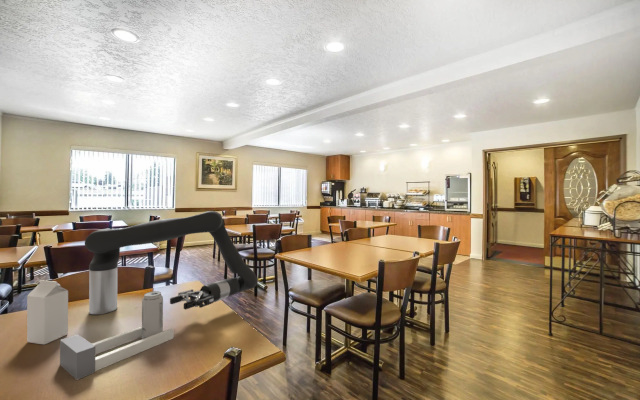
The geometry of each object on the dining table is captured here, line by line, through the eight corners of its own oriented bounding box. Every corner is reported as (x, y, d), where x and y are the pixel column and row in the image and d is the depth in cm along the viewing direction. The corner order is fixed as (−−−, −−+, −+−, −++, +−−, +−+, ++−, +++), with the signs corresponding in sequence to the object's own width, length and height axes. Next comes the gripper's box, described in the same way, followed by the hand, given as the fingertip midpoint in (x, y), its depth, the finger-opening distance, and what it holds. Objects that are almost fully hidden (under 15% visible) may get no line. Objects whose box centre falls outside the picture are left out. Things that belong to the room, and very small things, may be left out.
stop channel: (60, 364, 80) (60, 339, 80) (155, 329, 102) (155, 309, 102) (76, 380, 74) (76, 352, 74) (174, 338, 96) (174, 317, 96)
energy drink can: (143, 336, 97) (143, 292, 97) (163, 333, 100) (163, 289, 100) (140, 344, 92) (140, 297, 92) (161, 341, 94) (162, 295, 94)
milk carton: (44, 345, 91) (44, 285, 90) (26, 342, 92) (26, 283, 92) (68, 334, 98) (68, 278, 97) (51, 332, 99) (51, 277, 99)
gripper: (204, 279, 120) (166, 289, 107) (227, 285, 113) (189, 297, 99) (204, 297, 120) (165, 309, 107) (227, 304, 113) (188, 319, 99)
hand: (177, 303), depth 103 cm, fingers open, 8 cm apart
